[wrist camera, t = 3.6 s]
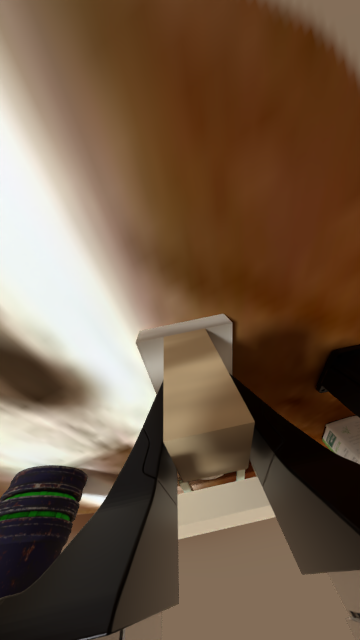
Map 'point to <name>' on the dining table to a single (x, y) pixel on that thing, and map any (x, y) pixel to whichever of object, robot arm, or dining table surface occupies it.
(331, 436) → the syrup box
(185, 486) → the frame
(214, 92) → the dining table surface
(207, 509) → the cream bridge block
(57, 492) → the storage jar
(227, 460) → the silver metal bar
